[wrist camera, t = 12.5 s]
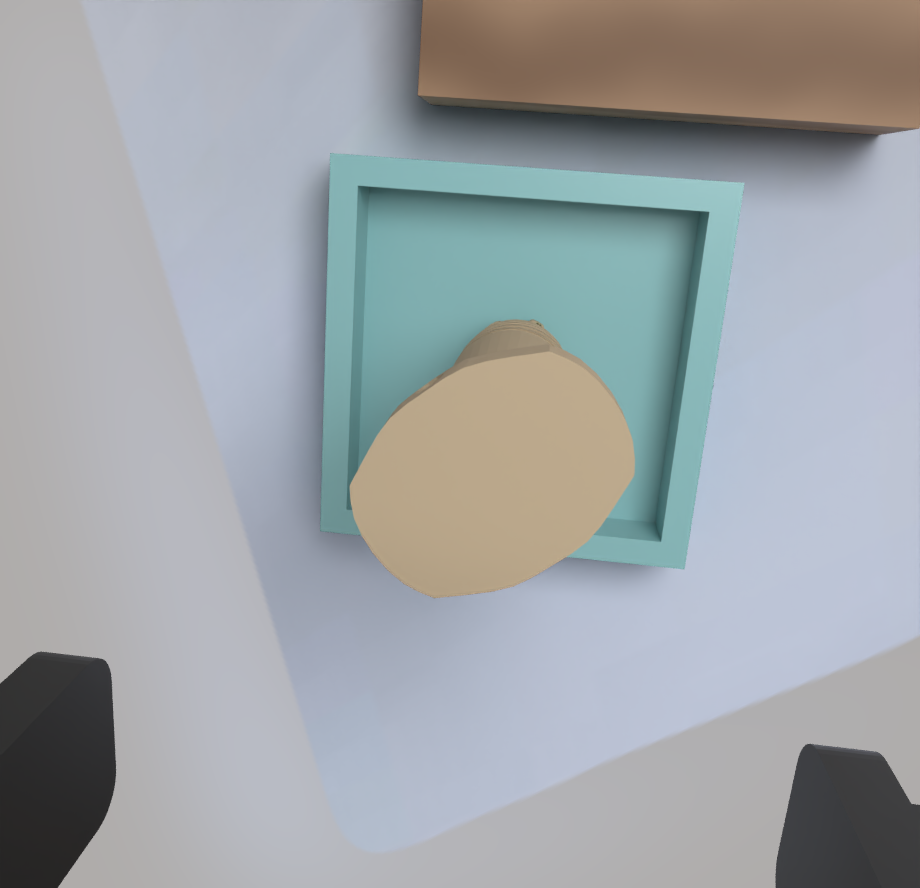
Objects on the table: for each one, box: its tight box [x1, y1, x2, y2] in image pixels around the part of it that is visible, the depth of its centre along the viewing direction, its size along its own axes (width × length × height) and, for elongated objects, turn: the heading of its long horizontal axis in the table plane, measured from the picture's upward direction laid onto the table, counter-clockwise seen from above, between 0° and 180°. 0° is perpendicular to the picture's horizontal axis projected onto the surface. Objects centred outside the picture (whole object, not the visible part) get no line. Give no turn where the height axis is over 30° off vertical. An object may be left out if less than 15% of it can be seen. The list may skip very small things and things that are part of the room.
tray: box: [320, 153, 745, 569], centre depth 33 cm, size 14×14×3 cm
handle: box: [350, 319, 635, 598], centre depth 27 cm, size 5×6×15 cm
